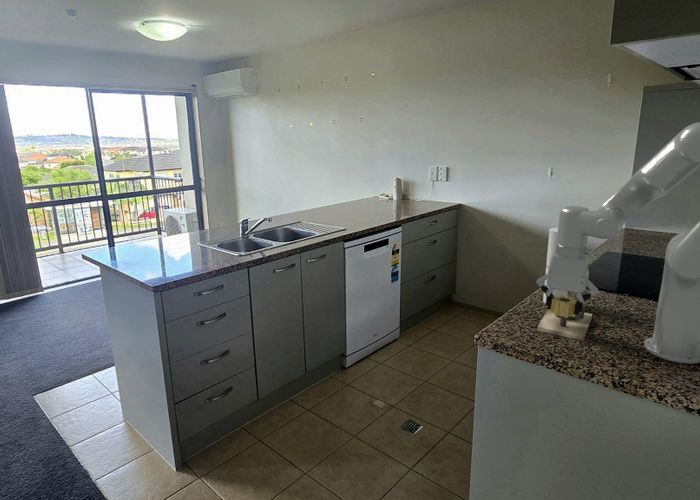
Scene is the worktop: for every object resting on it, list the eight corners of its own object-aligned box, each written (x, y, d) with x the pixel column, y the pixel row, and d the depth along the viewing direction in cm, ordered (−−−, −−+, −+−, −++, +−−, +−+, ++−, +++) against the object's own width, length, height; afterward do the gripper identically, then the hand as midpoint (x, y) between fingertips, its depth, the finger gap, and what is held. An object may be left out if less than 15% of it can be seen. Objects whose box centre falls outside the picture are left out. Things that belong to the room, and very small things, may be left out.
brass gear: (577, 311, 124) (579, 298, 123) (573, 319, 118) (575, 306, 117) (552, 306, 127) (554, 293, 126) (548, 314, 122) (549, 301, 121)
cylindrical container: (546, 296, 149) (553, 226, 143) (568, 301, 145) (576, 229, 138) (540, 303, 144) (546, 230, 137) (563, 307, 139) (571, 233, 133)
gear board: (591, 317, 131) (594, 295, 129) (583, 340, 117) (586, 316, 115) (549, 309, 138) (551, 289, 136) (537, 330, 124) (539, 307, 122)
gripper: (607, 252, 116) (599, 313, 121) (540, 244, 126) (534, 300, 131) (605, 259, 110) (595, 322, 115) (534, 249, 120) (528, 308, 125)
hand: (563, 310), depth 123 cm, fingers closed on brass gear, 6 cm apart
